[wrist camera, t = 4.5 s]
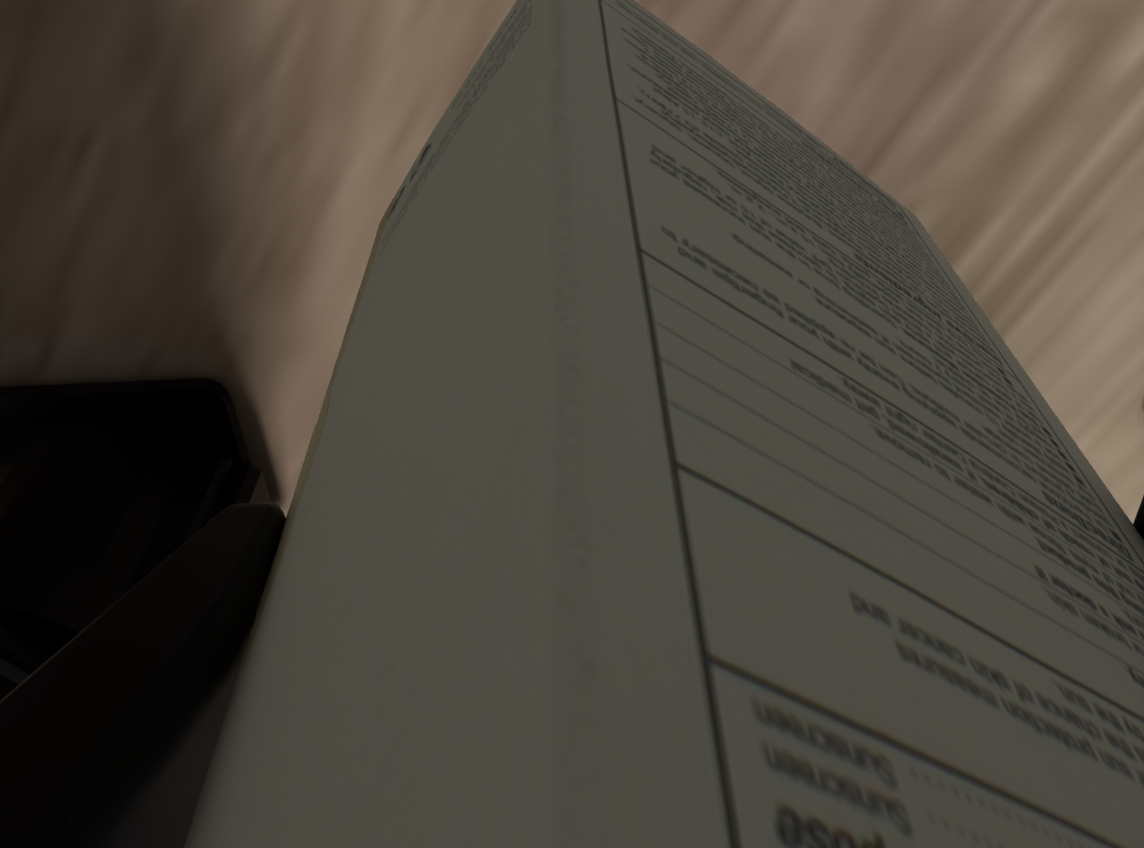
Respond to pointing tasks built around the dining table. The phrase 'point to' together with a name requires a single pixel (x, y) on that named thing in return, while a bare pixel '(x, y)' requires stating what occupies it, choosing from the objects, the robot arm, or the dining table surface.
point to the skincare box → (677, 507)
